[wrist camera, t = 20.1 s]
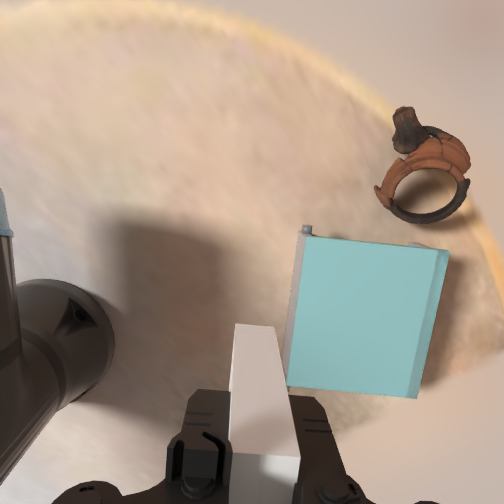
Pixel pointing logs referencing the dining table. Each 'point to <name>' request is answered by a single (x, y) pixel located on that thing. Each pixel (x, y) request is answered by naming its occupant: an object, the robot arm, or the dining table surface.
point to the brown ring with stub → (424, 163)
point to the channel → (295, 288)
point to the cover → (364, 316)
